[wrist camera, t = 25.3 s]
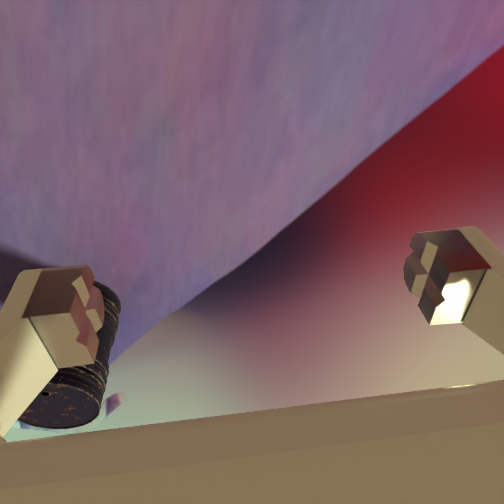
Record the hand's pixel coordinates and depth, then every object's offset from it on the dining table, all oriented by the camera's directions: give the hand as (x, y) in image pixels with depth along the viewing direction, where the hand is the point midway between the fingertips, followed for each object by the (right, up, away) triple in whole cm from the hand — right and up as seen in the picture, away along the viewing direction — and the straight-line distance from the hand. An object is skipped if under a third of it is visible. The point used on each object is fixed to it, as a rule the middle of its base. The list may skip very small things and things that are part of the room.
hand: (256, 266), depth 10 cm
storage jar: (-23, -7, +44) cm, 50 cm away
